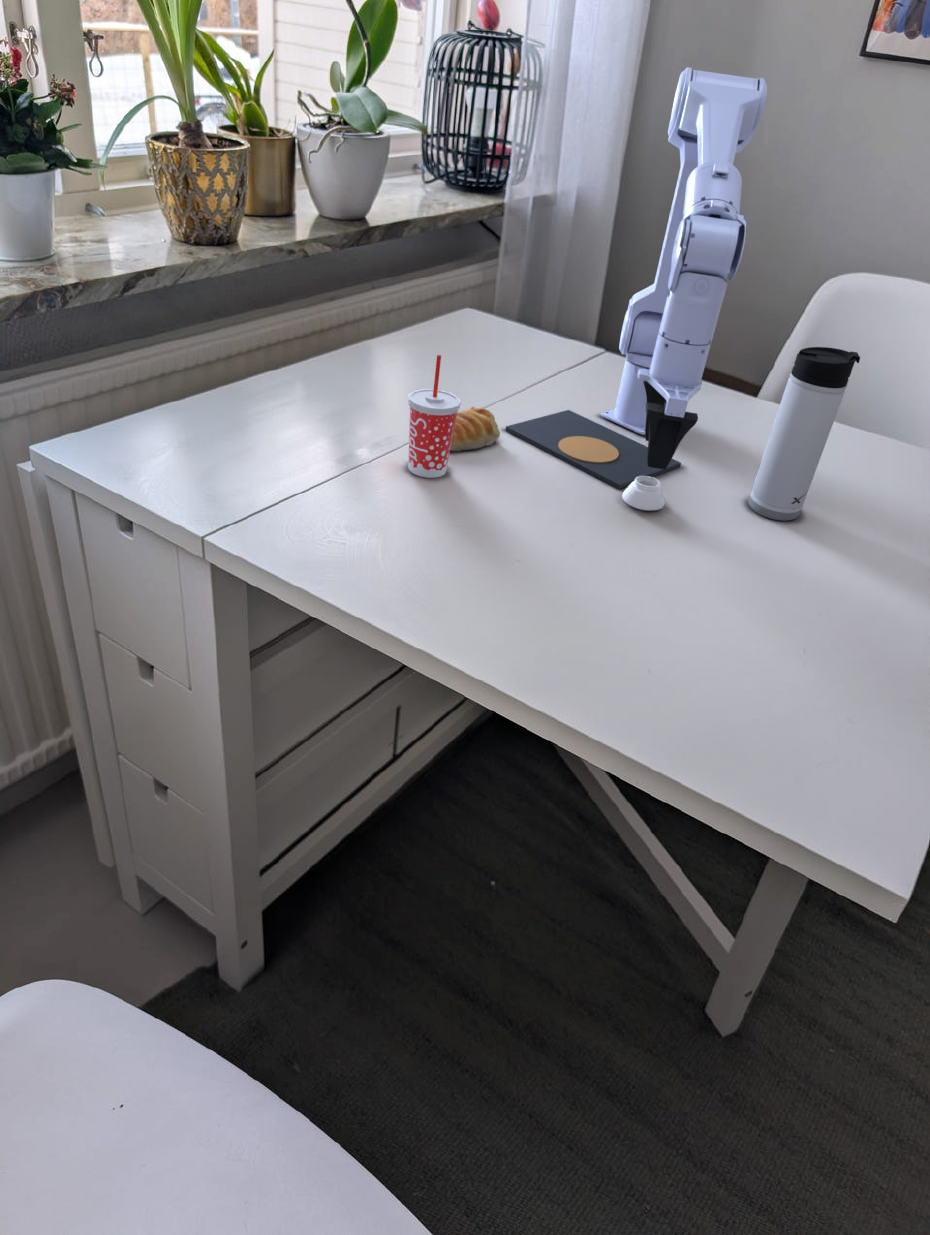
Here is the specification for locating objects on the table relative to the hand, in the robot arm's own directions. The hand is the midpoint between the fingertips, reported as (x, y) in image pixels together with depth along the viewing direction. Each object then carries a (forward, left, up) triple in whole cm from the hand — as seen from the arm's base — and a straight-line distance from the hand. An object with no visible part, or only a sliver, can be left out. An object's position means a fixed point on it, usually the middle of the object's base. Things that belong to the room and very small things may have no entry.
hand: (655, 453), depth 104 cm
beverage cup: (+17, -20, -7) cm, 27 cm away
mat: (-7, -14, -6) cm, 17 cm away
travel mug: (-14, +10, -7) cm, 18 cm away
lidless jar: (0, 0, -7) cm, 7 cm away
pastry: (+7, -24, -7) cm, 26 cm away
